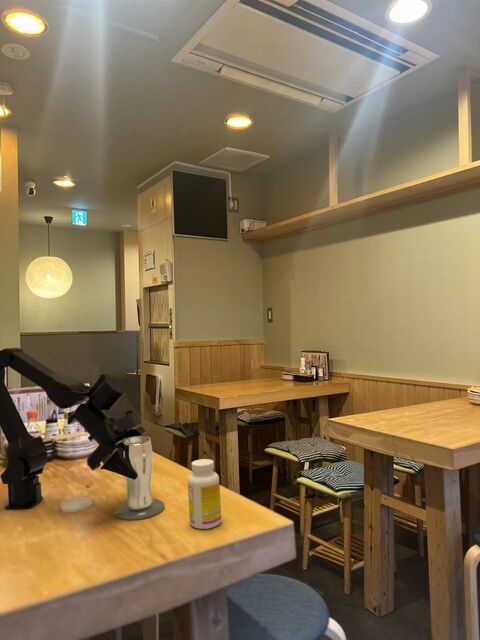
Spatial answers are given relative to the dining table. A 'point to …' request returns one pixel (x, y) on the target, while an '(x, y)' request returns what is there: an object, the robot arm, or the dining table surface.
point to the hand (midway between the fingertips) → (143, 473)
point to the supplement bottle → (204, 495)
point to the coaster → (139, 511)
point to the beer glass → (139, 471)
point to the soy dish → (75, 504)
